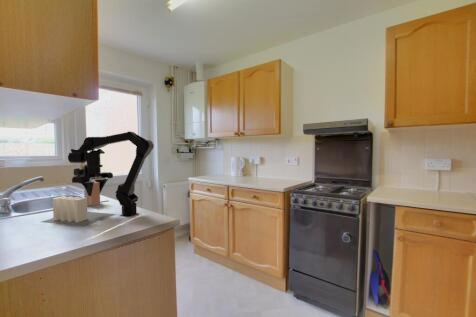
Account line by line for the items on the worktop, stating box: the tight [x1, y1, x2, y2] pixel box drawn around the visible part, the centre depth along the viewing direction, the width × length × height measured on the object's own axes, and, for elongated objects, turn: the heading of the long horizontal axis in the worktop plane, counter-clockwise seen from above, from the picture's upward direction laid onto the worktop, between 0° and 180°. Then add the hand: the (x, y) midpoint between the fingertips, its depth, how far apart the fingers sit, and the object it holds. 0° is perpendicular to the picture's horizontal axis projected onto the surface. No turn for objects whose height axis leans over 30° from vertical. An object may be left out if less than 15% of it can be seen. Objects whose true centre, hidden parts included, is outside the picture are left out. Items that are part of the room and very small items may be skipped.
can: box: [83, 187, 101, 207], centre depth 133 cm, size 8×8×12 cm
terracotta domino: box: [89, 181, 101, 204], centre depth 112 cm, size 2×5×10 cm, turn 167°
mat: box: [41, 211, 116, 227], centre depth 108 cm, size 24×18×1 cm
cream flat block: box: [60, 196, 74, 221], centre depth 106 cm, size 2×5×10 cm, turn 167°
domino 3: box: [67, 196, 81, 222], centre depth 105 cm, size 2×5×10 cm, turn 167°
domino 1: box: [52, 195, 67, 220], centre depth 107 cm, size 2×5×10 cm, turn 167°
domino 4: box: [74, 197, 88, 222], centre depth 104 cm, size 2×5×10 cm, turn 167°
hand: (94, 194), depth 113 cm, fingers closed on terracotta domino, 5 cm apart
